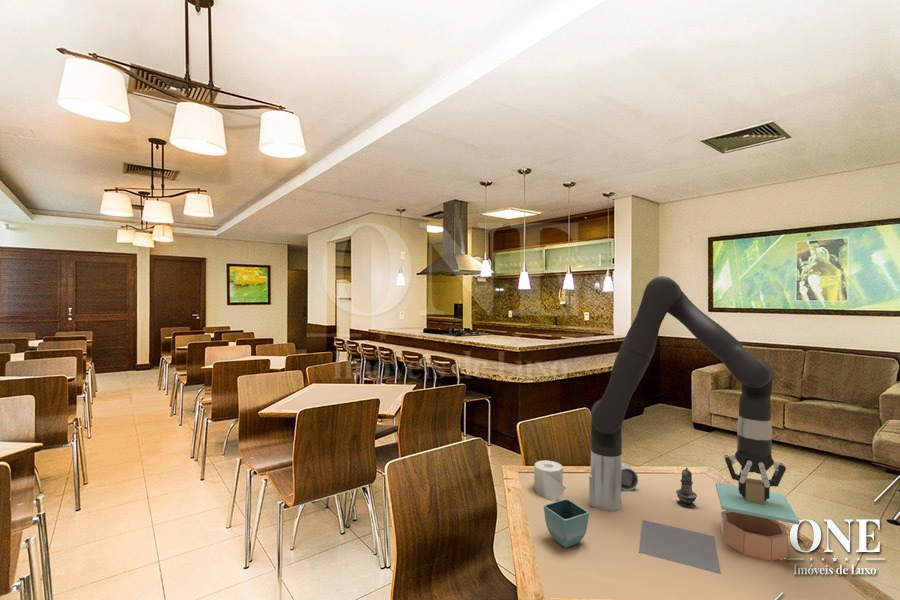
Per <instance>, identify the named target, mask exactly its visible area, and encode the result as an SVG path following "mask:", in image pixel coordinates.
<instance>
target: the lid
mask: <svg viewBox="0 0 900 600" xmlns="http://www.w3.org/2000/svg"><path fill="white" fill-rule="evenodd" d="M738 487H739V485H738V486H737V485H733V484H726V483H719V482H715V488H716V489H715V490H716V492H717V493H716V494H717V496H718V500H719V503H720V507H721V508H720V509H721V510H722V511H732V512H737V513H742V514H747V515H752V516H757V517H762V518H767V519H772V520H775V521H777V522H781V523H783V522H784V523H788V524H794V525H798V526H799V525H800V520H799V519H798V517H797V515H796V513H795V512H794V510H793V508H792V507H791V504H790V503H789V501H788V499H787V498H786V496H785V494H783V493H780V492H772V491H769V499H766V501H764V484H763V482H762V479H756V478H749V477H746V480H745V497H742V495H741V494H740V493H739V490H738Z"/></svg>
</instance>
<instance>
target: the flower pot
mask: <svg viewBox="0 0 900 600" xmlns="http://www.w3.org/2000/svg"><path fill="white" fill-rule="evenodd" d="M543 510H544V511H543V513H544V520H545V524H546V527H547V531H548V532H549V534H550V535H551V538H552V539H553V540H554V541H555V542H557V543H558V544H559V545H561V546H562V547H563V548H565V549H566V548H569V547H571V546H575V545H577V544H579V543H581V541H582V540H583V539H584V537H585V535H586V533H587V530H588V523H589V516H590V511H588V510H587V509H585V508H583V507H581V506H579V504H577V503H575V502H573V501H572V500H570V499H569V498H563V499H559V500H557V501H556V502H555V501H552V502H551V503H546V504H544V505H543Z"/></svg>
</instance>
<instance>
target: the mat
mask: <svg viewBox="0 0 900 600" xmlns="http://www.w3.org/2000/svg"><path fill="white" fill-rule="evenodd" d="M639 539H640V540H639V545H638V546H639V548H638V553H639V554H643V555H646V556H650V557H655V558H657V559H662V560H667V561H671V562H674V563H677V564H681V565H685V566H687V567H688V566H689V567H693V568H696V569H700V570H703V571H704V570H705V571H707V572H708V571H709V572H712V573H716V574H719V575H720V574H722V571H721V567H720V560H719V556H718V551H717V544H716V541H715V536H714V535H711V534H706V533H702V532H697V531H693V530H689V529H684V528H680V527H676V526H673V525H666V524H662V523H660V522H659V523H658V522H654V521H650V520H645V519H642V520H641V529H640V538H639Z"/></svg>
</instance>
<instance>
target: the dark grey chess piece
mask: <svg viewBox="0 0 900 600" xmlns="http://www.w3.org/2000/svg"><path fill="white" fill-rule="evenodd" d="M692 475H693V473H692V471H690V470H689V468H688V467H686V468H685V469H683V470H682V471H681V479H680V480H679V481H680V482H681V483H680V484H681V485H680V486H681V488H680V489H679V488H678V489H677V490H675V491H676V492H675V493H676V494H677V495H676V496H677V497H678V499H679V500H676V501H677V502H676V504H677V505H679V506H680V507H681V508H685V509H695V508H696V507H697V506H696V504H695V503H694V502H696V500H697V499H696V498H697V497H698V494H697V493H696V492H694V491H693V484H694V482H693V477H692Z"/></svg>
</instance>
